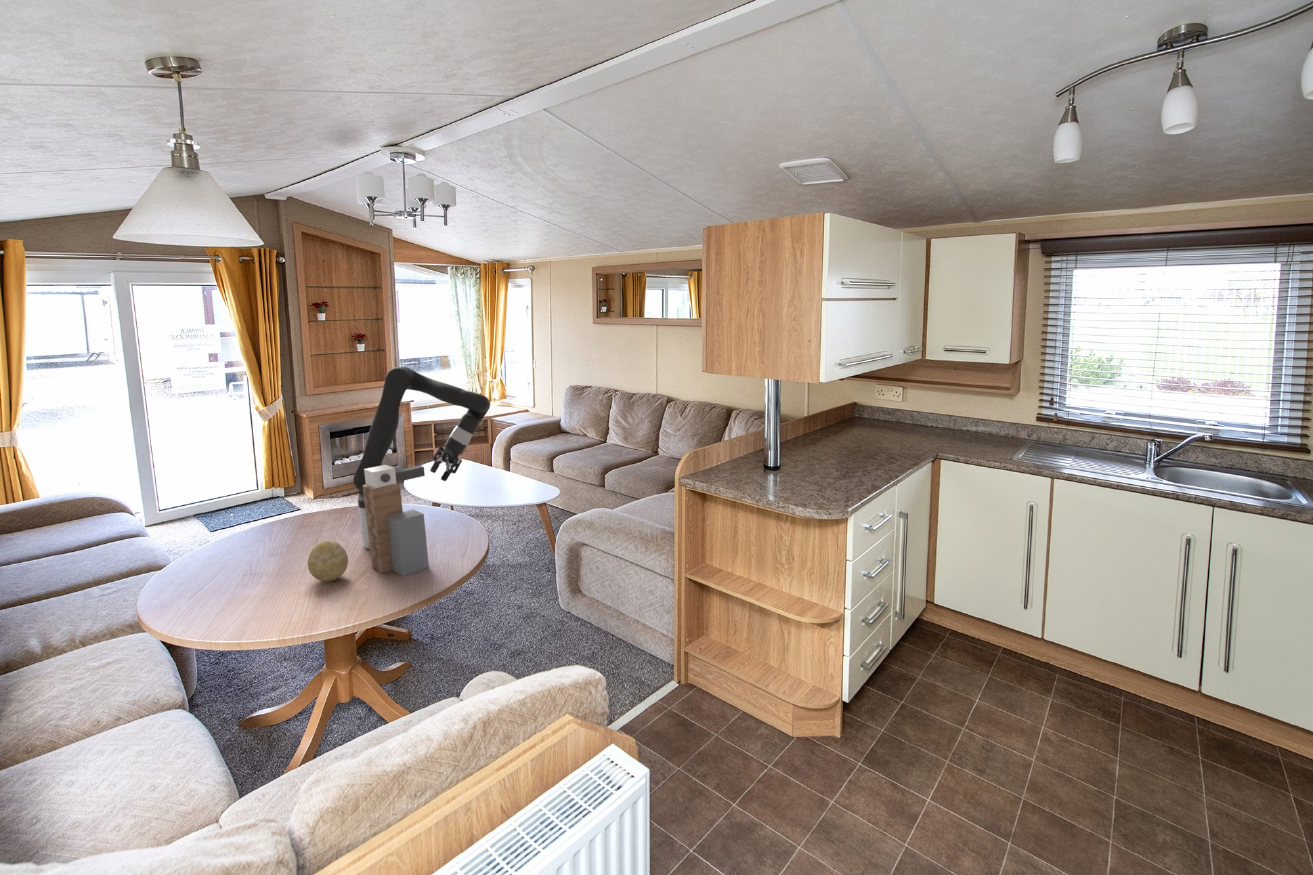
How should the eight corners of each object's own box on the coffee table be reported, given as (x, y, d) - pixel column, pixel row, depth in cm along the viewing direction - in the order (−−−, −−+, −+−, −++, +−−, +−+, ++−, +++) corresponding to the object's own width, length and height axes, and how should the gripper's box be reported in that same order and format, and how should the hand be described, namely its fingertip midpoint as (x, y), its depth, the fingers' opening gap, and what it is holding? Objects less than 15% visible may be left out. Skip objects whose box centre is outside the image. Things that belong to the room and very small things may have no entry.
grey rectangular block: (392, 570, 232) (386, 516, 227) (418, 561, 239) (412, 509, 235) (403, 576, 227) (397, 521, 222) (428, 567, 234) (423, 513, 229)
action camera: (365, 484, 228) (363, 468, 227) (417, 473, 243) (415, 458, 241) (376, 489, 222) (374, 473, 221) (428, 477, 237) (427, 461, 236)
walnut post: (372, 567, 234) (362, 485, 227) (398, 559, 241) (389, 479, 235) (382, 573, 229) (372, 489, 222) (408, 565, 236) (399, 483, 229)
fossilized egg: (357, 576, 227) (353, 537, 223) (324, 590, 216) (318, 550, 213) (336, 569, 233) (331, 531, 230) (302, 582, 222) (297, 543, 219)
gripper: (442, 430, 248) (421, 466, 247) (460, 442, 239) (438, 480, 238) (456, 437, 254) (436, 472, 253) (475, 449, 245) (454, 486, 244)
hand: (437, 476), depth 245 cm, fingers open, 8 cm apart
